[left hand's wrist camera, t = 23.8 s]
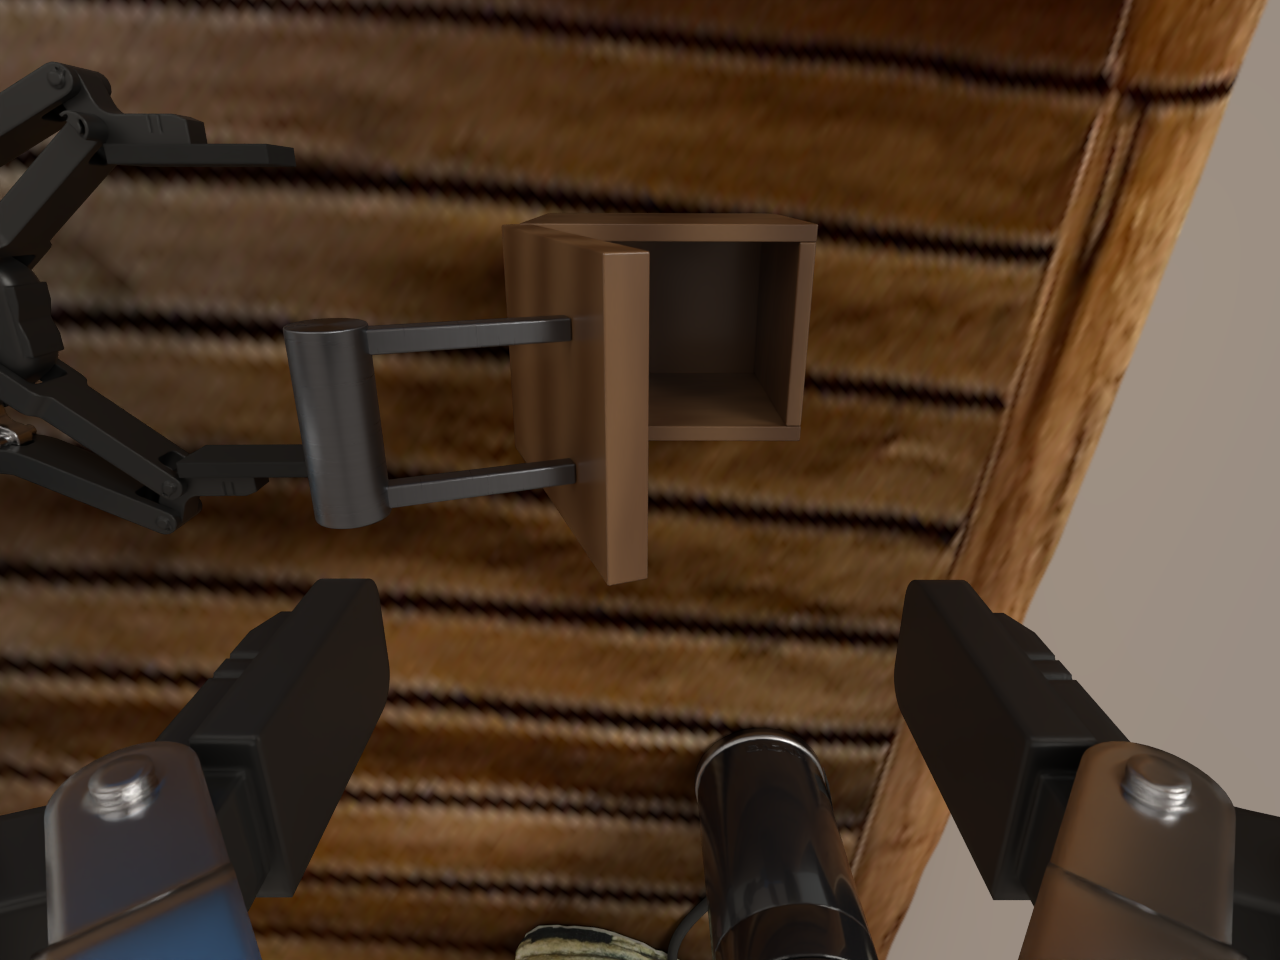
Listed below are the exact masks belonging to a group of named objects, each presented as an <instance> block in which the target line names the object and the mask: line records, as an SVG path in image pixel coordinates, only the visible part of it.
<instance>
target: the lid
mask: <svg viewBox="0 0 1280 960" xmlns="http://www.w3.org/2000/svg"><path fill="white" fill-rule="evenodd" d="M502 239H503V255H504V271H505V287H506V303H507V318H500V319H483V320H465V321H448V322H430V323H413V324H395V325H378V326H368V323H367V322H366V321H363V320H359V319H350V318H327V319H314V320H306V321H300V322H295V323H291V324H288V325H286V326H284V327H283V333H284V339H285V345H286V351H287V356H288V362H289V368H290V374H291V380H292V386H293V391H294V397H295V403H296V409H297V415H298V420H299V426H300V432H301V438H302V444H303V450H304V455H305V461H306V467H307V473H308V479H309V484H310V490H311V496H312V502H313V508H314V514H315V519H316V521H317V523H318V524H320V525H322V526H324V527H328V528H335V529H349V528H357V527H362V526H367V525H370V524H373V523H376V522H378V521H380V520H382V519H384V518H386V517H387V516H388V515H389V514H390V513H391V510H392V508H394V507H401V506H409V505H417V504H424V503H432V502H439V501H447V500H454V499H462V498H469V497H477V496H484V495H492V494H499V493H507V492H514V491H522V490H529V489H537V488H543V489H544V490H545V492H546V493H547V495H548V496H549V498H550V499H551V501H552V502H553V504H554V505H555V507H556V508H557V510H558V511H559V513H560V514H561V516H562V517H563V519H564V520H565V522H566V523H567V525H568V526H569V528H570V529H571V531H572V532H573V534H574V535H575V537H576V538H577V540H578V541H579V543H580V544H581V546H582V547H583V549H584V550H585V552H586V553H587V555H588V556H589V558H590V559H591V561H592V562H593V564H594V565H595V567H596V568H597V570H598V571H599V573H600V574H601V576H602V577H603V579H604V580H605V582H606V583H607V585H614V584H620V583H625V582H631V581H636V580H642V579H646V578H647V555H648V410H649V264H650V253H649V251H646V250H641V249H637V248H633V247H628V246H624V245H620V244H615V243H611V242H607V241H602V240H598V239H593V238H589V237H585V236H580V235H576V234H572V233H567V232H563V231H559V230H554V229H550V228H546V227H541V226H537V225H533V224H514V225H502ZM508 345H509V352H510V368H511V384H512V400H513V416H514V432H515V447H516V448H517V450H518V451H519V453H520V454H521V456H522V457H523V459H524V460H525V462H526V463H523V464H515V465H506V466H498V467H490V468H482V469H473V470H465V471H457V472H449V473H440V474H432V475H424V476H416V477H407V478H399V479H391V480H388V475H387V467H386V459H385V452H384V444H383V436H382V429H381V421H380V413H379V406H378V398H377V390H376V383H375V375H374V367H373V359H372V355H378V354H393V353H407V352H422V351H436V350H451V349H465V348H479V347H494V346H508Z"/></svg>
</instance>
